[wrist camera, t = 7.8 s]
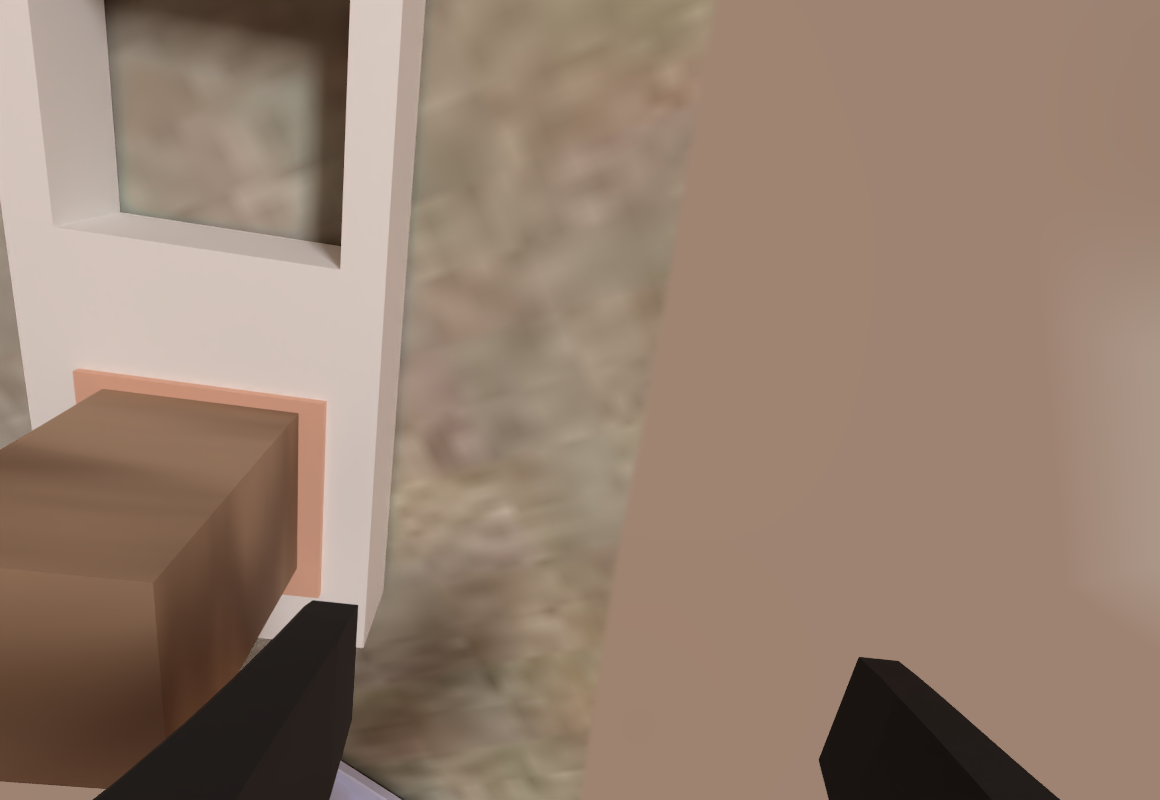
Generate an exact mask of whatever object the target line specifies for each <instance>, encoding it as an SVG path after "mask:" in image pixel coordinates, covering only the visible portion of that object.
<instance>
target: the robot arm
mask: <svg viewBox="0 0 1160 800" xmlns="http://www.w3.org/2000/svg"><path fill="white" fill-rule="evenodd" d="M357 620H358V605H354V604H344V603H335V602H325V601H315V600H312V601H311V602H310V603H308V604H307V605H305V606H304V607H303V608H302V609H301V610H300V611H299V612H298V613H297V614H296V615H295V616H294V617H293V618H292V619H291V621H290V622H289V623H288V624H287V625H286V626H285V627H284V628H283V629H282V630H281V631H280V632H279V633H278V634H277V635H276V636H275V637H274V638H273V639H272V640H271V641H270V642H269V643H268V644H267V645H266V646H265V647H264V648H263V649H262V650H261V651H260V652H259V653H258V654H257V655H256V656H255V657H254V658H253V659H252V660H251V661H250V662H249V663H248V664H247V665H246V666H245V667H244V668H243V669H242V670H241V671H240V672H239V673H238V674H237V675H236V676H235V677H234V678H232V679H231V680H230V681H229V682H228V683H227V684H226V685H225V686H224V687H223V688H222V689H221V690H220V691H218V692H217V693H216V694H215V695H214V696H213V697H212V698H211V699H210V700H209V701H208V702H207V703H206V704H205V705H203V706H202V707H201V708H200V709H199V710H198V711H197V712H196V713H195V714H194V715H193V716H192V717H190V718H189V719H188V720H187V721H186V722H185V723H184V724H183V725H182V726H180V727H179V728H178V729H177V730H176V731H175V732H173V733H172V734H171V735H170V736H169V737H168V738H166V739H165V740H164V741H163V742H162V743H160V744H159V745H158V746H157V747H156V748H155V749H153V750H152V751H151V752H150V753H149V754H148V755H146V756H145V757H144V758H143V759H142V760H141V761H139V762H138V763H137V764H136V765H135V766H133V767H132V768H131V769H130V770H129V771H128V772H126V773H125V774H124V775H123V776H122V777H121V778H119V779H118V780H117V781H116V782H114V783H113V784H112V785H111V786H109V787H108V788H107V789H106V790H104V791H103V792H102V793H101V794H99V795H98V796H97V797H96V798H94V799H93V800H402V799H400V798H398V797H397V796H395V795H394V794H392V793H391V792H389V791H387V790H386V789H384V788H383V787H381V786H380V785H378V784H377V783H375V782H373V781H372V780H370V779H369V778H367V777H366V776H364V775H362V774H361V773H359V772H358V771H356V770H355V769H353V768H351V767H350V766H348V765H347V764H345V763H344V762H342V761H341V757H342V754H343V750H344V746H345V742H346V739H347V735H348V731H349V728H350V724H351V720H352V708H353V691H354V673H355V655H356V637H357ZM819 763H820V767H821V771H822V775H823V778H824V782H825V786H826V790H827V794H828V798H829V800H1060V799H1059V798H1057V797H1056V796H1055V795H1054V794H1053V793H1051V792H1050V791H1049V790H1048V789H1047V788H1046V787H1045V786H1043V785H1042V784H1041V783H1040V782H1039V781H1038V780H1036V779H1035V778H1034V777H1033V776H1032V775H1030V774H1029V773H1028V772H1027V771H1026V770H1025V769H1024V768H1022V767H1021V766H1020V765H1019V764H1018V763H1016V761H1014V760H1013V759H1012V758H1011V757H1010V756H1009V755H1008V754H1006V753H1005V752H1004V751H1003V750H1002V749H1001V748H1000V747H998V746H997V745H996V744H995V743H994V742H992V740H990V739H989V738H988V737H987V736H986V735H985V734H984V733H982V732H981V731H980V730H979V729H978V728H977V727H976V726H974V725H973V724H972V723H971V722H970V721H969V720H968V719H967V718H965V717H964V716H963V715H962V714H961V713H960V712H959V711H957V710H956V709H955V708H954V707H953V706H952V705H950V704H949V703H948V702H947V701H946V700H945V699H944V698H942V697H941V696H940V695H939V694H938V693H937V692H935V691H934V690H933V689H932V688H931V687H929V685H927V684H926V683H925V682H924V681H923V680H921V679H920V678H919V677H918V676H917V675H915V674H914V673H913V672H911V671H910V670H909V669H908V668H906V667H905V666H904V665H903V664H901V663H900V662H899V661H892V660H883V659H873V658H864V657H859V658H858V661H857V663H856V666H855V668H854V671H853V673H852V676H851V679H850V681H849V684H848V686H847V689H846V691H845V694H844V697H843V699H842V702H841V704H840V707H839V709H838V712H837V714H836V717H835V720H834V722H833V725H832V727H831V730H830V732H829V735H828V737H827V740H826V742H825V745H824V748H823V750H822V753H821V755H820V758H819Z"/></svg>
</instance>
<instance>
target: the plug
mask: <svg viewBox="0 0 1160 800" xmlns="http://www.w3.org/2000/svg"><path fill="white" fill-rule="evenodd" d="M298 425H299V413H293V412H285V411H277V410H269V409H261V408H253V407H245V406H237V405H229V404H221V403H213V402H205V401H197V400H189V399H181V398H173V397H164V396H156V395H148V394H140V393H132V392H124V391H116V390H108V389H101V390H99V391H98V392H96V393H94V394H93V395H91V396H89V397H88V398H86V399H84V400H83V401H81V402H79V403H78V404H76V405H74V406H73V407H71V408H69V409H68V410H66V411H64V412H63V413H61V414H59V415H58V416H56V417H54V418H53V419H51V420H49V421H48V422H46V423H44V424H43V425H41V426H39V427H38V428H36V429H34V430H33V431H31V432H29V433H28V434H26V435H24V436H23V437H21V438H19V439H18V440H16V441H14V442H13V443H11V444H9V445H8V446H6V447H4V448H3V449H1V450H0V781H6V782H18V783H32V784H33V783H34V784H46V785H47V784H48V785H60V786H74V787H88V788H102V789H107V788H108V787H109V786H111V785H112V784H113V783H114V782H116V781H117V780H118V779H119V778H121V777H122V776H123V775H124V774H125V773H126V772H128V771H129V770H130V769H131V768H132V767H133V766H135V765H136V764H137V763H138V762H139V761H141V760H142V759H143V758H144V757H145V756H146V755H148V754H149V753H150V752H151V751H152V750H153V749H155V748H156V747H157V746H158V745H159V744H160V743H162V742H163V741H164V740H165V739H166V738H168V737H169V736H170V735H171V734H172V733H173V732H175V731H176V730H177V729H178V728H179V727H180V726H182V725H183V724H184V723H185V722H186V721H187V720H188V719H189V718H190V717H192V716H193V715H194V714H195V713H196V712H197V711H198V710H199V709H200V708H201V707H202V706H203V705H205V704H206V703H207V702H208V701H209V700H210V699H211V698H212V697H213V696H214V695H215V694H216V693H217V692H218V691H220V690H221V689H222V688H223V687H224V686H225V685H226V684H227V683H228V682H229V681H230V680H231V679H232V678H234V677H235V676H236V675H237V674H238V672H239V670H240V668H241V667H242V665H243V663H244V661H245V660H246V658H247V656H248V654H249V652H250V651H251V649H252V647H253V645H254V644H255V642H256V640H257V638H258V637H259V635H260V633H261V631H262V629H263V628H264V626H265V624H266V622H267V621H268V619H269V617H270V615H271V613H272V612H273V610H274V608H275V606H276V605H277V603H278V601H279V599H280V598H281V596H282V594H283V592H284V590H285V589H286V587H287V585H288V583H289V582H290V580H291V578H292V576H293V574H294V573H295V571H296V569H297V526H298Z"/></svg>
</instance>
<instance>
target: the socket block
mask: <svg viewBox="0 0 1160 800" xmlns="http://www.w3.org/2000/svg"><path fill="white" fill-rule="evenodd" d="M425 3H426V0H350V20H349V47H348V74H347V101H346V128H345V156H344V183H343V210H342V237H341V246H337V245H330V244H324V243H317V242H311V241H304V240H298V239H291V238H284V237H278V236H271V235H265V234H258V233H252V232H245V231H239V230H232V229H226V228H219V227H213V226H206V225H200V224H193V223H187V222H180V221H174V220H167V219H161V218H154V217H147V216H141V215H134V214H128V213H121V212H120V202H119V189H118V176H117V163H116V150H115V137H114V124H113V111H112V98H111V85H110V72H109V59H108V46H107V33H106V20H105V7H104V0H0V201H1V208H2V215H3V223H4V230H5V237H6V244H7V252H8V259H9V266H10V273H11V281H12V288H13V295H14V302H15V310H16V317H17V324H18V332H19V339H20V346H21V353H22V361H23V368H24V375H25V382H26V390H27V397H28V404H29V411H30V419H31V426H32V431H33V430H34V429H36V428H38V427H39V426H41V425H43V424H44V423H46V422H48V421H49V420H51V419H53V418H54V417H56V416H58V415H59V414H61V413H63V412H64V411H66V410H68V409H69V408H71V407H73V406H74V405H76V404H78V403H79V402H81V401H83V400H84V399H86V398H88V397H89V396H91V395H93V394H94V393H96V392H98V391H99V390H101V389H108V390H116V391H124V392H132V393H140V394H148V395H156V396H164V397H173V398H181V399H189V400H197V401H205V402H213V403H221V404H229V405H237V406H245V407H253V408H261V409H269V410H277V411H285V412H293V413H299V425H298V526H297V569H296V571H295V573H294V574H293V576H292V578H291V580H290V582H289V583H288V585H287V587H286V589H285V590H284V592H283V594H282V596H281V598H280V599H279V601H278V603H277V605H276V606H275V608H274V610H273V612H272V613H271V615H270V617H269V619H268V621H267V622H266V624H265V626H264V628H263V629H262V631H261V633H260V635H259V637H258V638H265V639H273V638H274V637H275V636H276V635H277V634H278V633H279V632H280V631H281V630H282V629H283V628H284V627H285V626H286V625H287V624H288V623H289V622H290V621H291V619H292V618H293V617H294V616H295V615H296V614H297V613H298V612H299V611H300V610H301V609H302V608H303V607H304V606H305V605H307V604H308V603H310V602H311V601H312V600H315V601H325V602H335V603H344V604H354V605H358V620H357V637H356V647H357V648H364V645H365V642H366V639H367V636H368V633H369V631H370V628H371V625H372V622H373V619H374V616H375V614H376V611H377V608H378V605H379V602H380V599H381V597H382V594H383V588H384V574H385V560H386V546H387V532H388V519H389V505H390V491H391V477H392V463H393V449H394V435H395V421H396V407H397V393H398V379H399V365H400V351H401V337H402V323H403V309H404V295H405V281H406V267H407V254H408V240H409V226H410V212H411V198H412V184H413V170H414V156H415V142H416V128H417V114H418V100H419V86H420V72H421V58H422V44H423V30H424V16H425Z"/></svg>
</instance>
